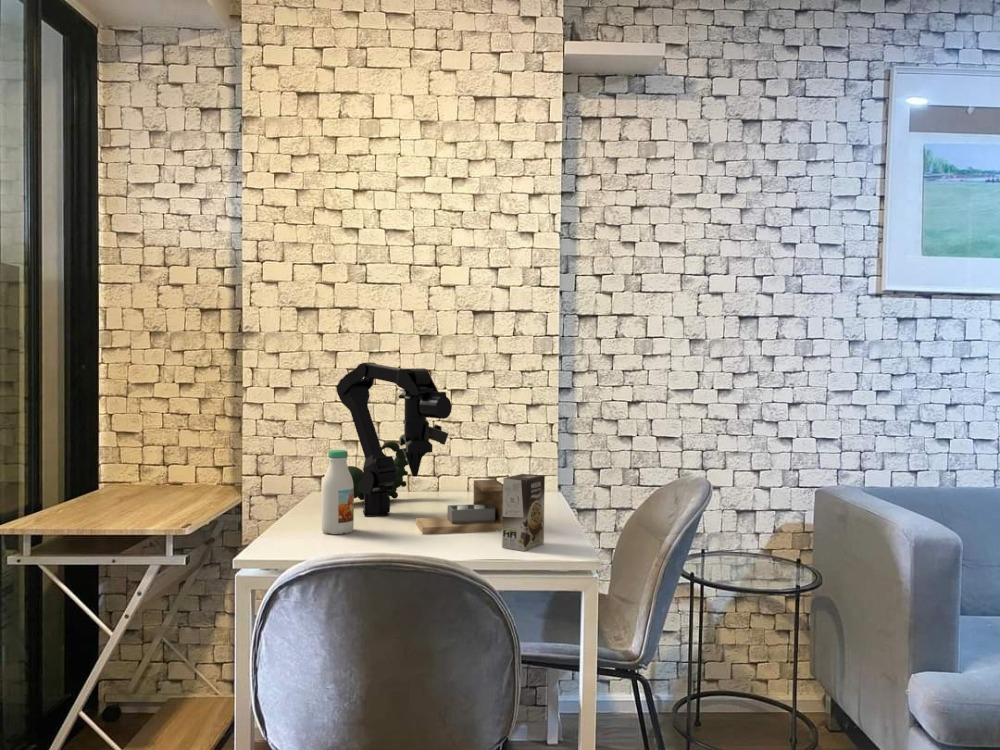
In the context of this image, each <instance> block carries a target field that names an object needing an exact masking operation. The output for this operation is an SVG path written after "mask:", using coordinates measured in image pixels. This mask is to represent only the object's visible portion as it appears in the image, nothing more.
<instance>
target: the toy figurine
mask: <svg viewBox="0 0 1000 750" xmlns="http://www.w3.org/2000/svg"><path fill="white" fill-rule="evenodd" d="M381 448H382V451H383V450H385V449H391V451H393V452H394V453H395V458H393V459H394V464H395V466H396V468H397V470H396V472H397V478H396V481H395V484H394V488H393V490H392V491H388V496H389V497H390V498H391V499H393V500H394V499H398V496H399V493H398V492H397V490H398V488H399V487H402V488H405V487H407V482H406V481H404V476H408V475H409V472H408V470H406V467H407V466H409V465H408V462H407V460H406V457H405V455H404V452H403V450H402V448H400V445H399V443H397V442H396V441H391V440H390V441H387V442H385V443H384V444H382V445H381ZM347 467H348V470H349V472H350V474H351V476H352V480H353V487H354V499H359V500H360V501H364V493H359V492H358V487H357V484H358V483H359V482H360V481H361V479H362V478H363V477H364V472H363V469H360V468H359V467H357V466H353V465H347Z"/></svg>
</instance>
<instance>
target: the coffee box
mask: <svg viewBox="0 0 1000 750" xmlns="http://www.w3.org/2000/svg"><path fill="white" fill-rule="evenodd" d="M502 479H503V483H502V484H503V524H502V532H501V534H502V535H501V536H502V537H501V547H502V548H504V549H509V550H510V549H511V550H515V551H521V552H526V551H529V550H530V549H534V548H536V546H537V547H539V546H542V545H544V544H545V490H546V488H545V486H546V485H545V484H546V483H545V481H546V480H545V479H546V475H542V474H532V473H529V474H528V473H520V474H516V475H515V474H514V475H512V476H507V477H506V476H505V477H503V478H502Z"/></svg>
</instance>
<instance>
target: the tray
mask: <svg viewBox="0 0 1000 750" xmlns="http://www.w3.org/2000/svg"><path fill="white" fill-rule="evenodd" d="M446 517H447V519H448V520H449V521H450V523H451V524H472V523H495V508H494V507H492V506H491V505H490V504H452V505H451V504H449V505H447V516H446Z"/></svg>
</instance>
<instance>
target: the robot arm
mask: <svg viewBox="0 0 1000 750" xmlns="http://www.w3.org/2000/svg"><path fill="white" fill-rule="evenodd" d="M429 371H430V370H428V369H427V368H424V367H422V368H420V367H419V368H417V367H415V368H398V367H393V366H388V365H383V364H378V363H375V362H361V363H359V364H358V365H357V366H356V367H355V368H354V369H352V371H350V372H348V373H347V374H345V375H344V376H343V377H342V378H340V380H339V381H338V382H337V385H336V393H337V395H338V398H339V400H340V402H341V404H343V405H344V407H345V408H347V409H348V410H349V412H350V415H351V418H352V421H353V425H354V428H355V430H356V434H357V436H358V440H359V443H360V446H361V449H362V452H363V455H364V463H363V468H362V471H363V472H364V477H363V478H362V479H361V481H360V482H359V483H358V484H357V487H358V492H359V493H364V500H363V510H362V513H363V516H364V517H376V516H377V517H379V516H381V517H382V516H383V517H384V516H386V517H387V516H390V512H391V496H390V497H389V496H388V491H392V490H393V488H394V484H395V481H396V478H397V472H396V470H397V468H396V466H395V464H394V459H395V458H394V457H393V456H391V455H388V456H387V455H386V454H385V453H384V452H383V450H382V448H381V447H382V445H381V443H380V439H379V437H378V434H377V431H376V428H375V424H374V421H373V419H372V415H371V412H370V409H369V406H368V403H369V400H370V389H371V388H372V387H373V386H374V383H375V380H377V381H378V380H379V381H383V382H388V383H394V384H396V386H397V387H398V388H401V389H402V390H403V391H402V393H400V394H399V395H398V399H403V400H404V419H403V425H404V428H403V429H404V431H403V432H404V433H403V434H402V435H400V436H399V438H398V439H399V441H398V445H399V447H400V446H404V445H405V448H401V449H402V450H403V452H404V455H405V457H406V461H407V462H408V465H407V466H408V468H409V470H410V473H411V475H412V477H415V478H416V477H418V475H419V471H420V467H421V462H422V458H423V457H424V456H425V455H426V454H428V453H430V454H431V453H433V443H431V442H430V440H431V441H435V442H437V443H439V444H441V445H443V446H445V445H446V442H447V440H448V436H449V432H446V431H445V430H443V429H442V426H440V425H438V424H434V425H433V426H430V422H429V421H428V420H427V418H430V419H442V420H444V419H447V418H449V417H450V415H451V413H452V409H453V405H452V403H451V399H449V397H448V396H447V392H446V391H439V390H438V388H437V386H436V384H435V382H434V381H433V379H432V377H431V374H430V373H429Z"/></svg>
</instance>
